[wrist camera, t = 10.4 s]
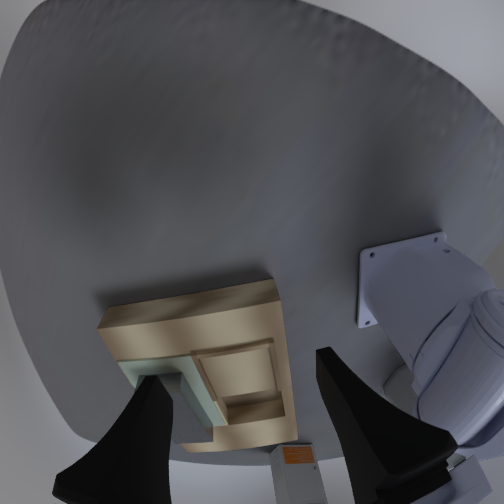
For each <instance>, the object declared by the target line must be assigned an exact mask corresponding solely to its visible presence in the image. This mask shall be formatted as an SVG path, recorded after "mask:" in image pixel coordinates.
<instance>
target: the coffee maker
mask: <svg viewBox="0 0 504 504" xmlns="http://www.w3.org/2000/svg"><path fill="white" fill-rule="evenodd" d="M413 381H414V375H413V373H412V372H411V370H410V369H409V367H408V366H407V364H406V363H405V364H403V365H402V366H400V367H399V368H397V369H396V370H395V371H394V372H393V374H392V375H391V376H390V378H389V379H388V380H387V382H386V383H385V384H384V386H383V389H384V392H385V395H386V397H387V398H388V399H389V401H390V402H391V403H392V404H393V405H394V406H396V407H397V408H399V409H400V410H402V411H404V412H406V413H408V414H410V415H412V409H413V404H414V402H415V400H416V398H417V394H416V393H415V391H414V389H413V388H412V386H411V385H412V383H413ZM466 458H467V457H465V456H463V455H461V454H458V453H453V454H452V455H451V456H450V457H449V458H448V459H447V462H448V464H449V466H448V467H447V469H450V468H452V467H454V468H455V467H456V466H458V465H459V464H461V463H462V462H464V461H465V460H466Z"/></svg>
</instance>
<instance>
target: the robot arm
mask: <svg viewBox="0 0 504 504" xmlns="http://www.w3.org/2000/svg"><path fill="white" fill-rule="evenodd" d="M434 239H435V240H434ZM372 252H373V254H372V256H370V254H371V253H372ZM367 321H368V322H367ZM377 323H379V325H380V326H381V328H382V329H383V330H384V332H385V333H386V335H387V336H388V338H389V339H390V341H391V342H392V343H393V345H394V346H395V348H396V349H397V351H398V352H399V354H400V355H401V357H402V358H403V360H404V361H405V363H406V364H407V366H408V367H409V369H410V370H411V372H412V373H413V375H414V381H413V383H412V385H411V386H412V388H413V389H414V391H415V393H416V394H417V398H416V400H415V402H414V404H413V409H412V415H410V414H408V413H406V412H404V411H402V410H400V409H399V408H397V407H396V406H394V405H393V404H391V403H390V402H388V401H387V400H385V399H384V398H382V397H381V396H380V395H378V394H377V393H376V392H375V391H373V390H372V389H371V388H370V387H369V386H368V385H366V384H365V383H364V382H363V381H362V380H361V379H360V378H359V377H358V376H357V375H356V374H355V373H354V372H353V371H352V370H351V369H350V368H349V367H348V366H347V365H346V364H345V363H344V362H343V361H342V360H341V359H340V358H339V356H338V355H337V354H336V353H335V352H334V350H333V349H332V348H331V347H325V348H322V349H318V350H316V378H317V382H318V386H319V389H320V392H321V396H322V399H323V401H324V403H325V406H326V408H327V411H328V413H329V415H330V418H331V420H332V423H333V425H334V427H335V430H336V432H337V435H338V437H339V440H340V443H341V447H342V450H343V454H344V457H345V461H346V465H347V469H348V473H349V477H350V481H351V486H352V490H353V495H354V500H355V504H478V503H480V502H481V501H482V500H483V499H485V498H486V497H487V496H488V495H490V494H491V493H492V491H493V490H492V488H491V486H490V484H489V482H488V480H487V478H486V476H485V474H484V472H483V470H482V468H481V466H480V464H479V462H478V461H482V460H488V459H492V458H496V457H500V456H504V290H501V289H496V288H495V285H494V283H493V280H492V279H491V277H490V275H489V274H488V273H487V272H486V271H485V270H484V269H483V268H482V267H480V266H479V265H478V264H476V263H475V262H473V261H472V260H471V259H469V258H468V257H466V256H465V255H463V254H462V253H460V252H459V251H457V250H456V249H454V248H453V247H451V246H450V245H448V244H447V243H446V233H444V232H442V231H441V232H437V233H433V234H429V235H425V236H420V237H416V238H412V239H407V240H403V241H399V242H394V243H390V244H385V245H381V246H376V247H372V248H367V249H364V250H362V251H361V253H360V270H359V297H358V314H357V326H358V327H359V328H364V327H368V326H371V325H374V324H377ZM172 426H173V399H172V398H171V396H170V395H169V393H168V392H167V390H166V388H165V387H164V385H163V384H162V382H161V380H160V379H159V377H158V376H157V375H152V376H145V378H144V379H143V381H142V382H141V384H140V385H139V387H138V389H137V390H136V392H135V393H134V395H133V397H132V398H131V400H130V401H129V403H128V404H127V406H126V407H125V409H124V410H123V412H122V413H121V415H120V416H119V418H118V419H117V420H116V422H115V423H114V424H113V426H112V427H111V428H110V430H109V431H108V432H107V433H106V434H105V436H104V437H103V438H102V439H101V440H100V441H99V442H98V443H97V444H96V445H95V446H94V447H93V448H92V449H91V450H90V451H89V452H88V453H87V454H86V455H84V456H83V457H82V458H81V459H79V460H78V461H77V462H76V463H74V464H73V465H71V466H70V467H68V468H67V469H65V470H64V471H62V472H60V473H58V474H57V475H56V479H55V483H54V487H53V491H52V494H53V496H54V497H56V498H58V499H59V500H61V501H63V502H65V503H67V504H172V503H171V496H170V486H169V452H170V443H171V434H172ZM453 453H458V454H461V455H463V456H465V457H467V458H468V459H466V460H465V461H464V462H462V463H461V464H459V465H458V466H456V467H455V468H453V469H452V470H450V471H449V472H448V470H447V467H448V466H449V464H448V462H447V459H448V458H449V457H450V456H451V455H452V454H453Z"/></svg>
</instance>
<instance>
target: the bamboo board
mask: <svg viewBox="0 0 504 504" xmlns="http://www.w3.org/2000/svg"><path fill="white" fill-rule="evenodd" d="M97 331H98V332H99V334H100V336H101V338H102V339H103V341H104V343H105V344H106V346H107V348H108V349H109V351H110V352H111V354H112V356H113V357H114V359H115V360H116V362H117V363H118V365H119V367H120V368H121V370H122V371H123V373H124V374H125V375H126V377H127V378H128V380H129V381H130V383H131V384H132V385H133V387H134V388H136V384H137V380H138V377H139V375H152V374H165V373H175V372H183V374H184V376H185V378H186V380H187V381H188V383H189V385H190V387H191V389H192V390H193V392H194V394H195V395H196V397H197V399H198V401H199V402H200V404H201V406H202V407H203V409H204V411H205V412H206V414H207V415H208V417H209V419H210V420H211V422H212V423H213V442H205V443H181V446H182V447H183V448H184V449H185V450H186V451H187V452H188V453H190V452H213V451H226V450H237V449H245V448H253V447H260V446H267V445H273V444H278V443H283V442H289V441H293V440H298V436H297V426H296V417H295V408H294V400H293V391H292V383H291V375H290V367H289V359H288V351H287V343H286V335H285V328H284V320H283V313H282V306H281V300H280V297H279V293H278V290H277V287H276V284H275V281H274V278H273V279H268V280H263V281H258V282H253V283H247V284H242V285H237V286H232V287H226V288H221V289H215V290H210V291H204V292H199V293H193V294H187V295H182V296H176V297H170V298H164V299H158V300H152V301H145V302H139V303H133V304H126V305H119V306H113V307H108V309H107V311H106V313H105V315H104V316H103V318H102V320H101V322H100V324H99V325H98V327H97Z"/></svg>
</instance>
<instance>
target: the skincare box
mask: <svg viewBox="0 0 504 504" xmlns="http://www.w3.org/2000/svg"><path fill="white" fill-rule="evenodd" d="M269 457H270V463H271V470H272V477H273V482H274V489H275V496H276V502H277V504H328V502H327V498H326V494H325V490H324V486H323V482H322V478H321V474H320V470H319V467H318V462H317V458H316V455H315V451H314V447H313V444H309V445H283V444H279V445H278V446H277V447H276V448H275V449H274V450H273V451H272V452H271V453H270V454H269Z"/></svg>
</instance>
